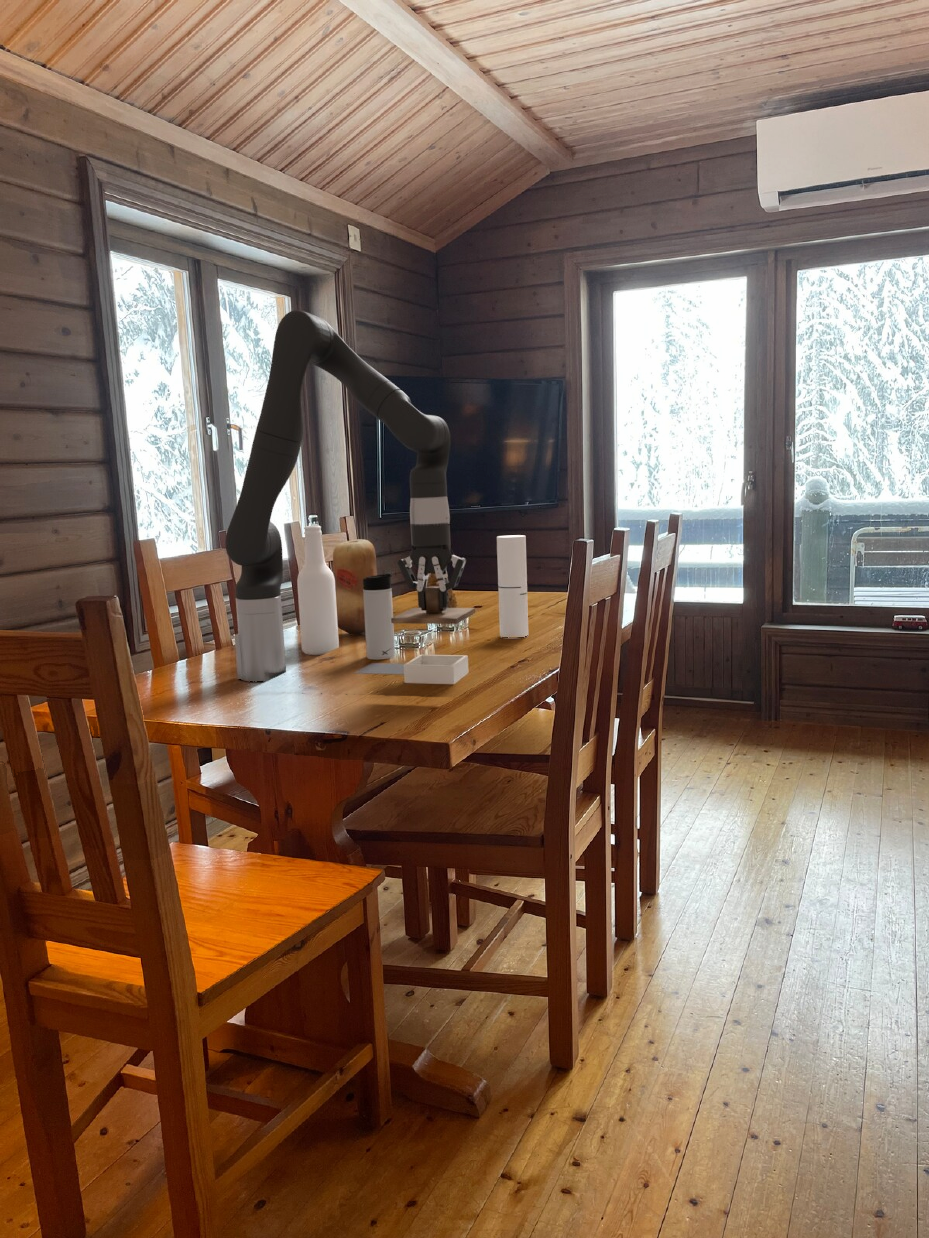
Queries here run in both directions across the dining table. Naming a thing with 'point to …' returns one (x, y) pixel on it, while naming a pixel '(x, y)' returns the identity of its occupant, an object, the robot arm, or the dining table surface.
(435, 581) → the stuffed squirrel
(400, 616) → the lid
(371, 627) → the travel mug
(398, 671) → the mat
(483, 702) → the dining table surface
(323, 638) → the alcohol
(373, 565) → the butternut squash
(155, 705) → the dining table surface
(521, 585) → the cylindrical container
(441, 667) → the dish
